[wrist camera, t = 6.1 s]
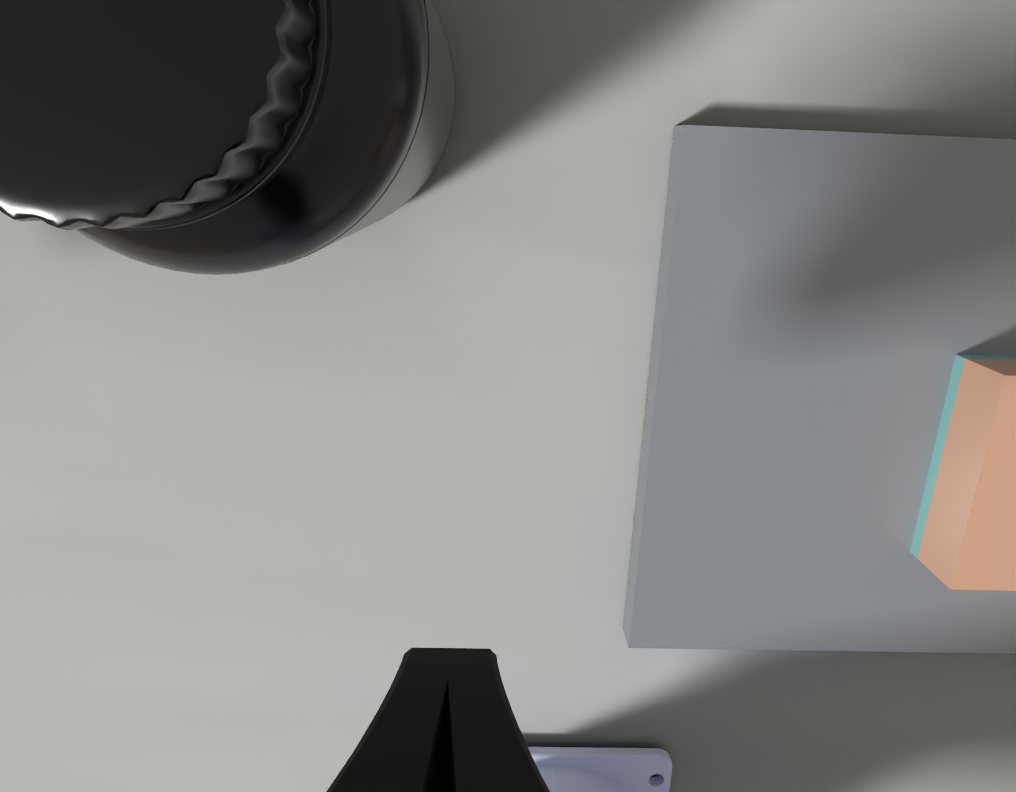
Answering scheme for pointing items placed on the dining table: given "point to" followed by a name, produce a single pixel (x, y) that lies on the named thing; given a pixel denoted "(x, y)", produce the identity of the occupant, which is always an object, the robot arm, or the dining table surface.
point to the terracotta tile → (973, 480)
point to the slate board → (814, 387)
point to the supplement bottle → (219, 122)
